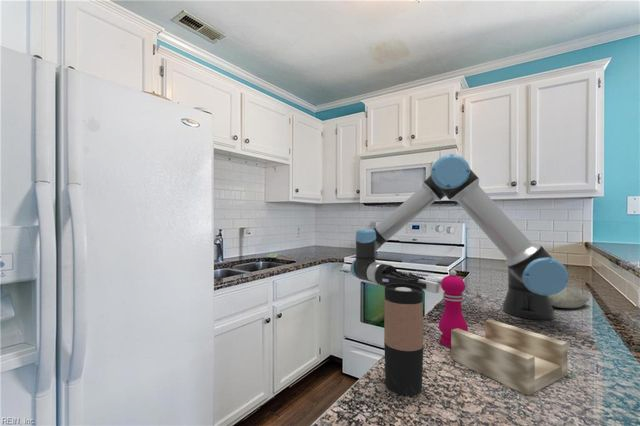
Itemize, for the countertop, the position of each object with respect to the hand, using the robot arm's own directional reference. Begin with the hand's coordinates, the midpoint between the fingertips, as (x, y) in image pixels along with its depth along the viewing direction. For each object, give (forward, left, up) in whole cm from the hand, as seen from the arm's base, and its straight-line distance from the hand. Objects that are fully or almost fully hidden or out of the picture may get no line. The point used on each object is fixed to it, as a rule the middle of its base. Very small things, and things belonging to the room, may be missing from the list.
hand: (437, 288), depth 86 cm
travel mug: (+20, +22, -14) cm, 33 cm away
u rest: (-7, +18, -14) cm, 24 cm away
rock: (-65, -21, -14) cm, 70 cm away
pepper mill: (-2, +5, -14) cm, 15 cm away
